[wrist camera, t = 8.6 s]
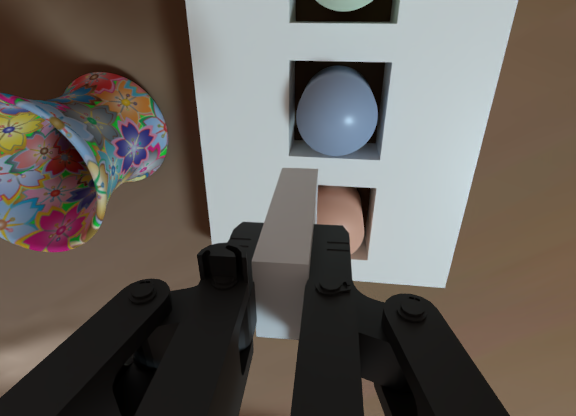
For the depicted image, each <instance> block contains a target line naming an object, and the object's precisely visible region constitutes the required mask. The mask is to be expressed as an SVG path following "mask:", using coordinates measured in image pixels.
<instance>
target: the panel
mask: <svg viewBox="0 0 576 416" xmlns="http://www.w3.org/2000/svg"><path fill="white" fill-rule="evenodd" d="M185 3H186V12H187V21H188V30H189V39H190V49H191V58H192V67H193V76H194V85H195V94H196V103H197V112H198V121H199V130H200V140H201V149H202V158H203V167H204V176H205V185H206V194H207V203H208V212H209V221H210V231H211V240H212V245H213V244H217V243H227V242H228V240H229V239H230V236H231V234H232V232H233V229H234V228H236V227H237V226H238V225H239V224H241V223H242V222H259V223H264V222H265V219H266V215H267V212H268V209H269V206H270V203H271V200H272V197H273V194H274V191H275V188H276V185H277V182H278V179H279V176H280V173H281V170H282V168H309V169H318V185H327V186H346V187H364V188H370V196H369V204H368V213H367V221H366V230H365V236H364V238H363V241H362V243H361V245H360V247H359V248H358V249H357V250H356V251H355V252H354V253H353V254H351V268H352V281H365V282H377V283H389V284H402V285H414V286H427V287H439V288H445V285H446V281H447V278H448V274H449V270H450V266H451V262H452V258H453V254H454V250H455V246H456V242H457V238H458V234H459V230H460V227H461V223H462V219H463V215H464V211H465V207H466V203H467V199H468V195H469V191H470V187H471V183H472V179H473V176H474V172H475V168H476V164H477V160H478V156H479V152H480V148H481V144H482V140H483V136H484V132H485V128H486V125H487V121H488V117H489V113H490V109H491V105H492V101H493V97H494V93H495V89H496V85H497V81H498V77H499V74H500V70H501V66H502V62H503V58H504V54H505V50H506V46H507V42H508V38H509V34H510V30H511V26H512V23H513V19H514V15H515V11H516V7H517V3H518V0H392V8H391V17H390V22H360V21H296V0H185ZM295 61H345V62H385V68H384V76H383V85H382V93H381V102H380V110H379V119H378V128H377V136H376V143H366V144H365V145H364V146H362V147H361V148H360V149H358V150H357V151H355V152H353V153H350V154H347V155H342V156H329V155H325V154H322V153H319V152H317V151H315V150H314V149H312V148H311V147H310V146H309V145H308V144H307V143H306V142H305V141H304V140H294V125H295Z"/></svg>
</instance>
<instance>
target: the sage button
mask: <svg viewBox="0 0 576 416" xmlns="http://www.w3.org/2000/svg"><path fill="white" fill-rule="evenodd" d="M316 1H317V2H318V3H319V4H321V5H322V6H324V7H326V8H328V9H331V10H335V11H343V12H344V11H352V10H356V9H359V8H362V7H364V6H365V5H367V4H369V3H370V2H372V1H373V0H316Z"/></svg>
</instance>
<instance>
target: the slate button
mask: <svg viewBox="0 0 576 416" xmlns="http://www.w3.org/2000/svg"><path fill="white" fill-rule="evenodd" d="M296 120H297V127H298V130H299V132H300V134H301V136H302V138H303V139H304V141H305V142H306V143H307V144H308V145H309V146H310V147H311V148H312V149H314V150H315V151H317V152H319V153H322V154H325V155H329V156H342V155H347V154H350V153H353V152H355V151H357V150H358V149H360V148H361V147H362V146H364V145H365V144H366V143H367V142H368V140H369V139H370V138H371V136H372V135H373V133H374V130H375V128H376V125H377V120H378V110H377V105H376V101H375V99H374V96H373V93H372V91H371V88H370V85H369V83H368V82H367V80H366V79H365V77H364V76H363V75H362V74H361V73H359V72H358V71H357V70H355V69H353V68H350V67H347V66H340V65H338V66H330V67H327V68H324V69H322V70H321V71H319V72H318V73H316V74H315V75H314V76H313V77H312V78H311V79H310V81H309V82H308V84H307V86H306V88H305V90H304V92H303V94H302V97H301V99H300V101H299V104H298V108H297V114H296Z"/></svg>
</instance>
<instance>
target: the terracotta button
mask: <svg viewBox="0 0 576 416" xmlns="http://www.w3.org/2000/svg"><path fill="white" fill-rule="evenodd" d="M317 224H324V225H343V226H344V228H345V229H346V230H347V231H348V233H349V237H350V253H351V254H353V253H354V252H355V251H356V250H357V249H358V248H359V247H360V245H361V243H362V241H363V238H364V223H363V214H362V204H361V198H360V195H359V192H358V191H357V189H356V188H355V187H346V186H327V185H318V198H317Z"/></svg>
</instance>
